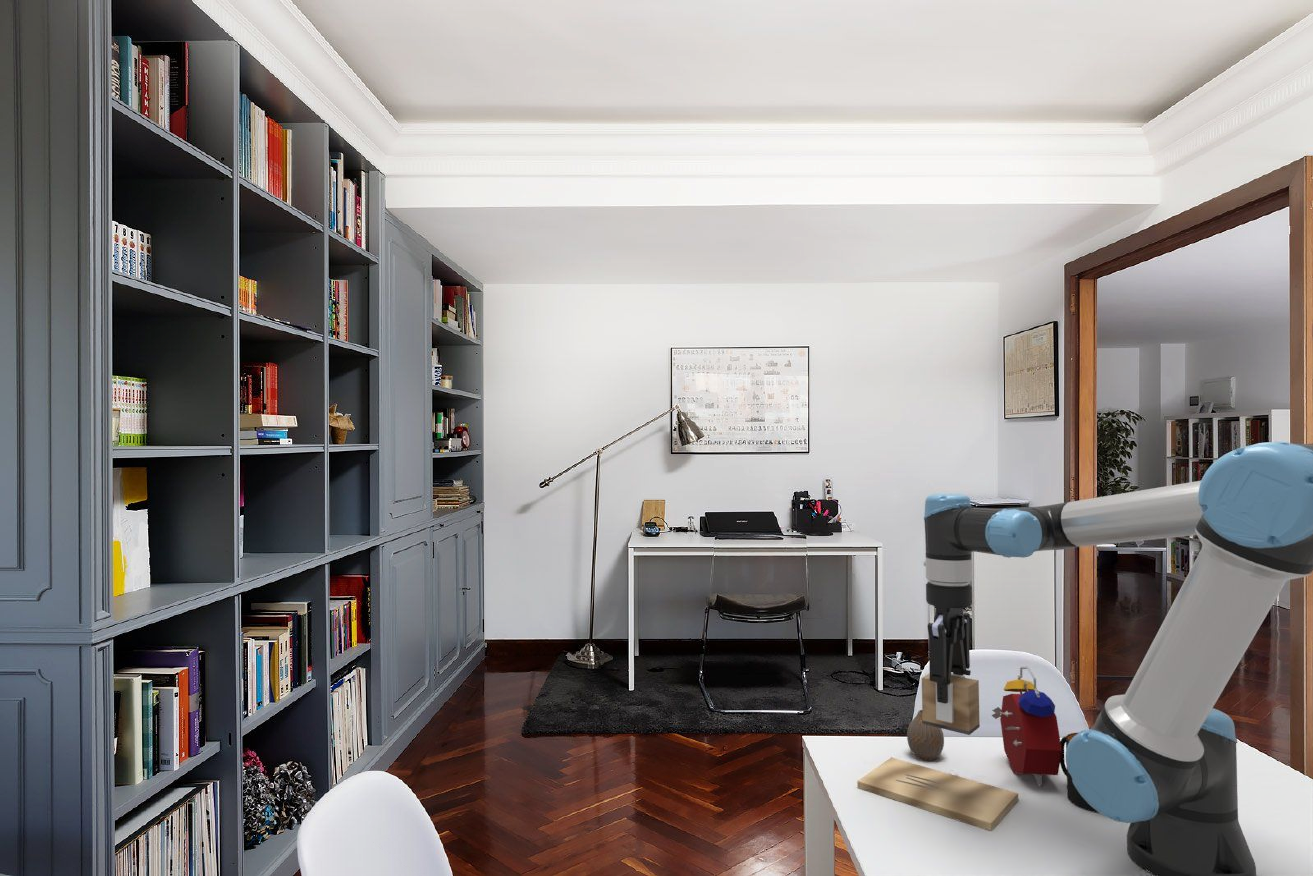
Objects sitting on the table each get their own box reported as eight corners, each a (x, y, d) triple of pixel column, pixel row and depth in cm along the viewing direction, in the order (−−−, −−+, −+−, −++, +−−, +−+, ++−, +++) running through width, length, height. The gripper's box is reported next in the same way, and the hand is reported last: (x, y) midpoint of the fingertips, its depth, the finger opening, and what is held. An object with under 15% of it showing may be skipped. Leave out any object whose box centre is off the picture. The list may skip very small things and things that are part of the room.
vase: (908, 761, 142) (907, 715, 142) (906, 747, 149) (905, 704, 149) (945, 765, 140) (944, 719, 140) (942, 751, 147) (941, 707, 147)
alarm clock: (1064, 793, 128) (1061, 678, 128) (1012, 790, 129) (1009, 677, 130) (1034, 759, 142) (1031, 656, 143) (987, 756, 144) (985, 655, 144)
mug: (1080, 780, 133) (1079, 723, 133) (1135, 811, 121) (1134, 748, 121) (1041, 784, 131) (1039, 727, 132) (1093, 816, 119) (1091, 752, 120)
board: (1018, 800, 125) (1018, 793, 125) (991, 831, 115) (991, 823, 115) (891, 763, 141) (891, 757, 141) (857, 787, 131) (857, 781, 131)
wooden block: (979, 726, 125) (978, 680, 126) (969, 735, 122) (968, 687, 122) (933, 716, 131) (932, 671, 131) (922, 723, 127) (921, 677, 127)
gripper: (946, 573, 136) (948, 698, 136) (906, 586, 123) (908, 725, 122) (988, 578, 131) (990, 707, 130) (951, 592, 118) (953, 736, 117)
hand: (951, 716), depth 126 cm, fingers closed on wooden block, 5 cm apart
